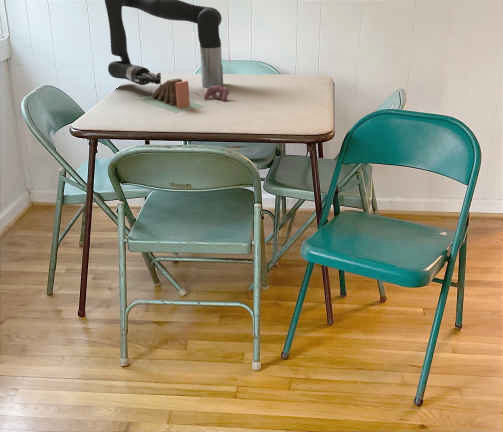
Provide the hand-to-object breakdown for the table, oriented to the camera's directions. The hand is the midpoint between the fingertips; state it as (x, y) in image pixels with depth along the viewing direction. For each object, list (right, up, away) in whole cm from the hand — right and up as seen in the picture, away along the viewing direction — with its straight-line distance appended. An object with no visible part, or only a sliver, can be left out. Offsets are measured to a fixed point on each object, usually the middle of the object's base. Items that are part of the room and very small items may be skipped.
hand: (158, 81), depth 262 cm
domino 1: (-1, -5, +4) cm, 7 cm away
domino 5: (+11, -12, -9) cm, 19 cm away
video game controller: (+24, -8, +1) cm, 25 cm away
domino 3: (+5, -9, -2) cm, 10 cm away
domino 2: (+2, -7, +1) cm, 7 cm away
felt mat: (+5, -9, -2) cm, 11 cm away
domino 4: (+8, -11, -6) cm, 14 cm away
